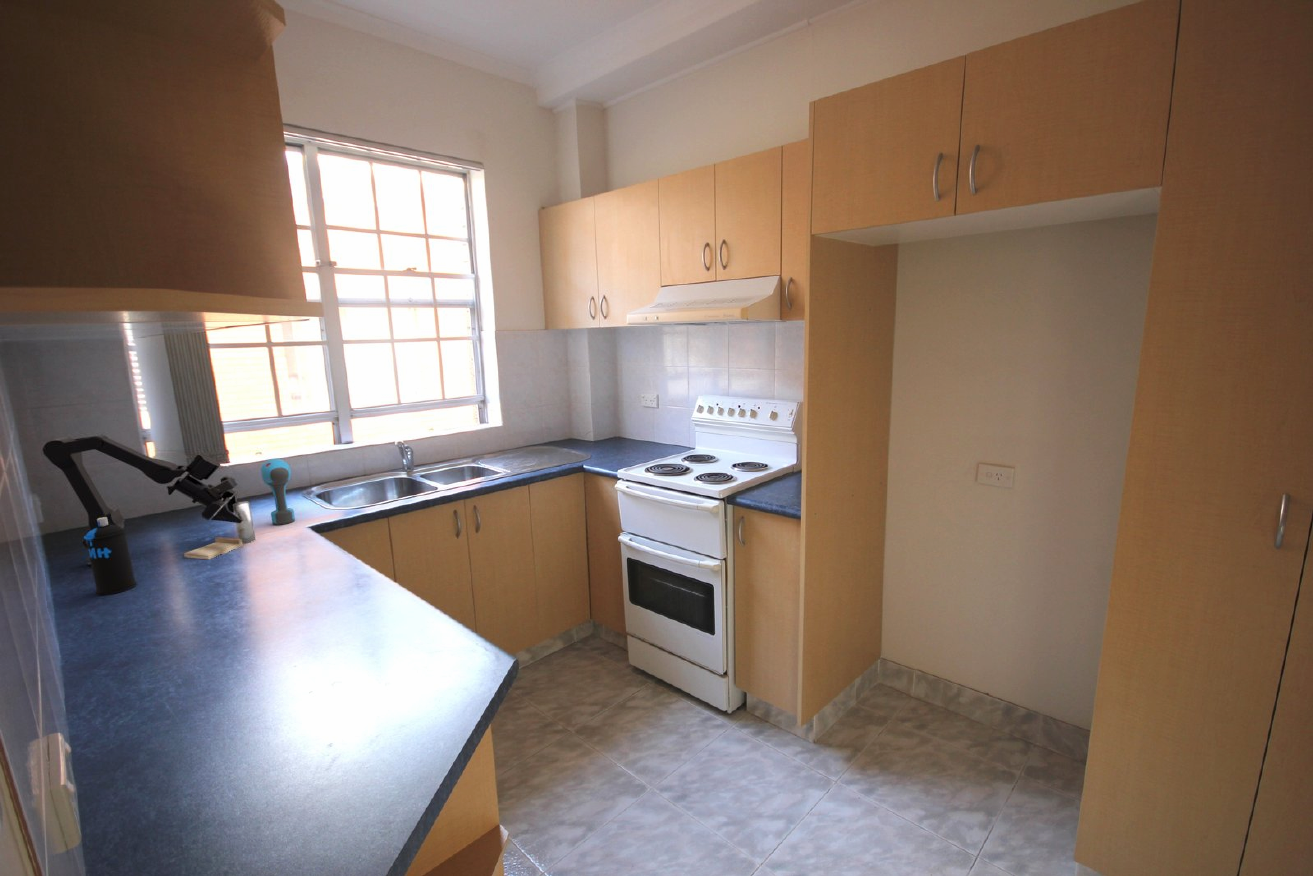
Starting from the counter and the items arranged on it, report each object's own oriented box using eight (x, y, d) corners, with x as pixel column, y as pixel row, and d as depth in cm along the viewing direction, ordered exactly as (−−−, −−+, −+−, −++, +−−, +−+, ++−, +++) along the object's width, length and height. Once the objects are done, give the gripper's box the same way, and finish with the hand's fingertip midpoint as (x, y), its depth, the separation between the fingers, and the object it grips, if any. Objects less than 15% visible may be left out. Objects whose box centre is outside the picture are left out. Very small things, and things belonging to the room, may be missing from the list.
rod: (246, 544, 190) (239, 505, 188) (235, 543, 191) (229, 505, 189) (258, 539, 194) (252, 501, 192) (248, 538, 196) (242, 501, 193)
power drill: (262, 514, 223) (253, 455, 219) (288, 509, 229) (280, 451, 225) (273, 531, 202) (263, 466, 198) (302, 525, 208) (292, 461, 204)
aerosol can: (124, 581, 163) (110, 512, 159) (144, 584, 160) (130, 514, 157) (88, 593, 155) (72, 522, 151) (109, 597, 152) (93, 524, 149)
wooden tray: (208, 559, 177) (207, 551, 177) (184, 557, 180) (183, 549, 180) (242, 546, 188) (241, 538, 187) (219, 544, 190) (217, 537, 190)
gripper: (207, 477, 178) (256, 505, 185) (223, 465, 195) (267, 492, 201) (180, 506, 176) (230, 534, 183) (198, 491, 193) (244, 518, 200)
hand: (244, 518), depth 192 cm, fingers open, 9 cm apart
